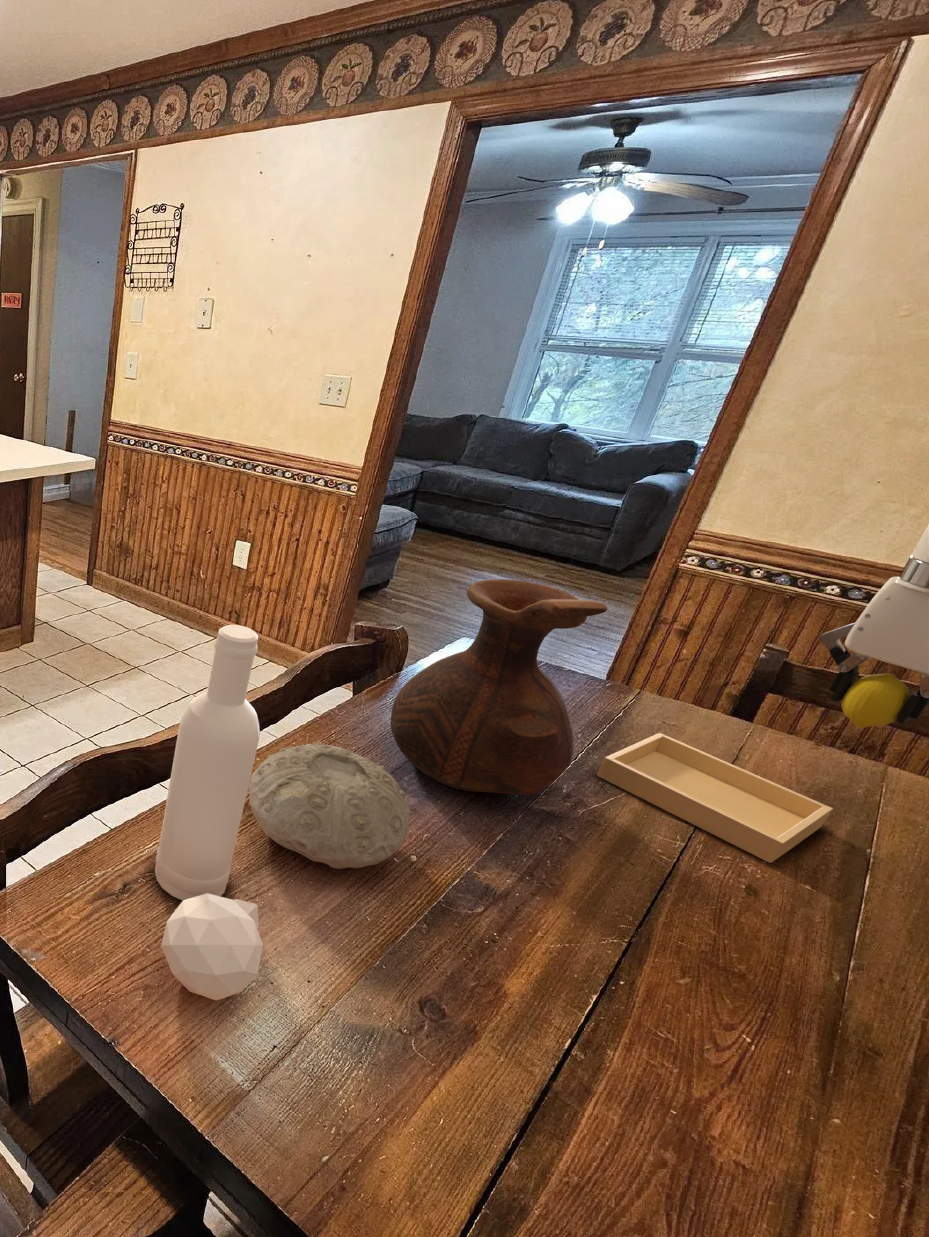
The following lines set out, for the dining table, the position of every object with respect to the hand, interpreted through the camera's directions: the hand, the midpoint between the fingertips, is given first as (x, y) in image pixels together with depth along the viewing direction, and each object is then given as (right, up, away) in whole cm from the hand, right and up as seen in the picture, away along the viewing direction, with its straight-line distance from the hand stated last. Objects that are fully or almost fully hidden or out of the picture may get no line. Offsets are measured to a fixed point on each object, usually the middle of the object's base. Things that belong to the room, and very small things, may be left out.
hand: (870, 708), depth 97 cm
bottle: (-92, -18, -15) cm, 95 cm away
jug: (-49, -9, +7) cm, 51 cm away
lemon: (0, -3, +1) cm, 3 cm away
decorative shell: (-75, -15, -7) cm, 77 cm away
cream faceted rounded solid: (-92, -23, -26) cm, 98 cm away
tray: (-18, -13, +4) cm, 23 cm away
